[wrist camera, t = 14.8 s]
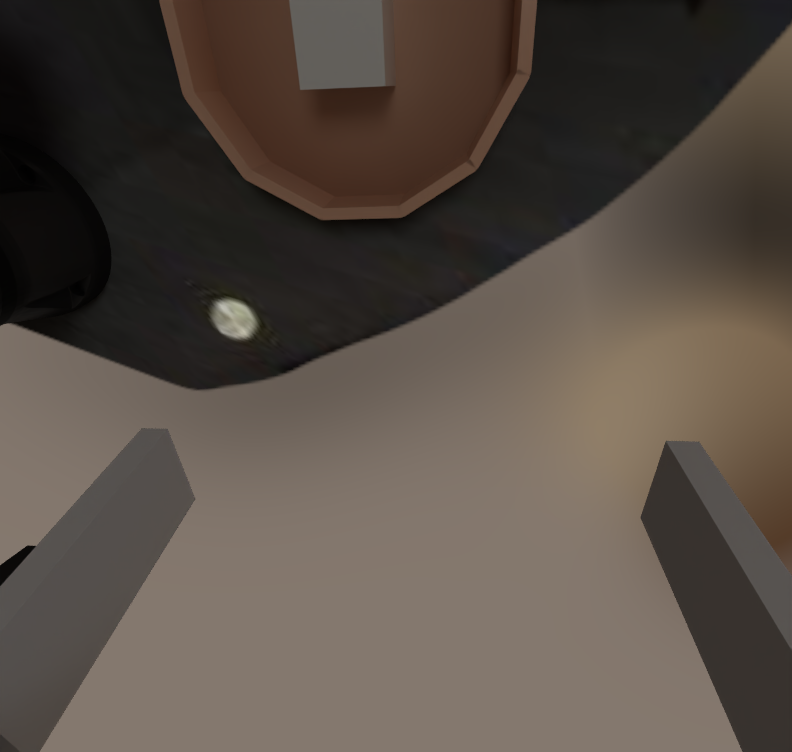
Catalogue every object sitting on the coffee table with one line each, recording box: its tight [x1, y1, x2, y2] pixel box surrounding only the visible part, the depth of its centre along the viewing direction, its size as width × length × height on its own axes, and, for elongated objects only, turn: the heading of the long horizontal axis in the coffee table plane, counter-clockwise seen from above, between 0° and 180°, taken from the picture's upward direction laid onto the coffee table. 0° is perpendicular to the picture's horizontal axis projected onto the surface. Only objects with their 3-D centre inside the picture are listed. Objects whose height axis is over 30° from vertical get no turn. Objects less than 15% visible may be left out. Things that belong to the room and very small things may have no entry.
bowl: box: [159, 0, 537, 220], centre depth 29 cm, size 22×22×5 cm
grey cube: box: [289, 0, 396, 90], centre depth 28 cm, size 5×6×6 cm
